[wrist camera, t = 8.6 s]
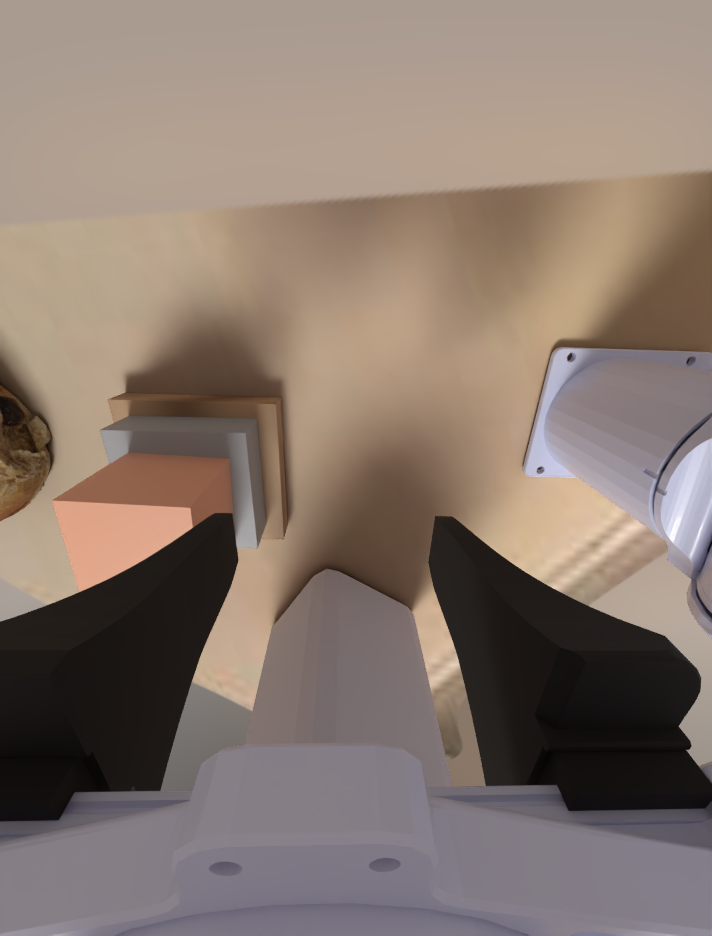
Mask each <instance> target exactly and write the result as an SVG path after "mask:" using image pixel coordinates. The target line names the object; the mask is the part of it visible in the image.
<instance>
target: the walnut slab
mask: <svg viewBox="0 0 712 936" xmlns="http://www.w3.org/2000/svg"><path fill="white" fill-rule="evenodd" d="M108 402H109V406H110V410H111V414H112V418H113V422H114V423H115V422H117V421H119V420H121V419H123V418H125V417H127V416H163V417H211V418H257V425H258V436H259V448H260V459H261V470H262V481H263V492H264V503H265V515H266V526H265V529H264V532H263V535H262V537H261V539H284V537H285V533H286V529H287V506H286V486H285V467H284V447H283V428H282V409H281V397H253V396H219V395H186V394H153V393H124V394H121V395H118V396H116V397H113V398H111V399H108Z"/></svg>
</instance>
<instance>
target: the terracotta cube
mask: <svg viewBox="0 0 712 936" xmlns="http://www.w3.org/2000/svg"><path fill="white" fill-rule="evenodd" d="M52 502H53V505H54V508H55V512H56V515H57V519H58V522H59V525H60V529H61V532H62V535H63V539H64V542H65V545H66V549H67V552H68V555H69V559H70V562H71V565H72V569H73V572H74V575H75V579H76V582H77V585H78V589H79V592H81V591H83V590H85V589H88V588H90V587H92V586H94V585H96V584H99V583H101V582H103V581H105V580H107V579H109V578H111V577H113V576H115V575H117V574H119V573H121V572H123V571H125V570H127V569H129V568H130V567H132V566H134V565H136V564H138V563H139V562H141V561H143V560H144V559H146V558H148V557H149V556H151V555H152V554H154V553H156V552H157V551H159V550H160V549H162V548H163V547H165V546H167V545H168V544H170V543H171V542H173V541H174V540H176V539H177V538H179V537H180V536H181V535H183V534H184V533H186V532H187V531H189V530H190V529H192V528H193V527H194V526H196V525H197V524H199V523H200V522H202V521H203V520H204V519H206V518H207V517H209V516H210V515H212V514H214V513H232V514H233V522H234V512H233V497H232V482H231V468H230V459H226V458H210V457H194V456H178V455H162V454H146V453H129V452H128V453H127V454H125V455H123V456H122V457H120V458H119V459H117V460H115V461H114V462H112V463H111V464H109V465H108V466H106V467H104V468H103V469H101V470H100V471H98V472H96V473H95V474H93V475H92V476H90V477H89V478H87V479H85V480H84V481H82V482H81V483H79V484H77V485H76V486H74V487H73V488H71V489H69V490H68V491H66V492H65V493H63V494H62V495H60V496H58V497H57V498H55V499H54V500H52ZM234 530H235V527H234Z"/></svg>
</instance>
